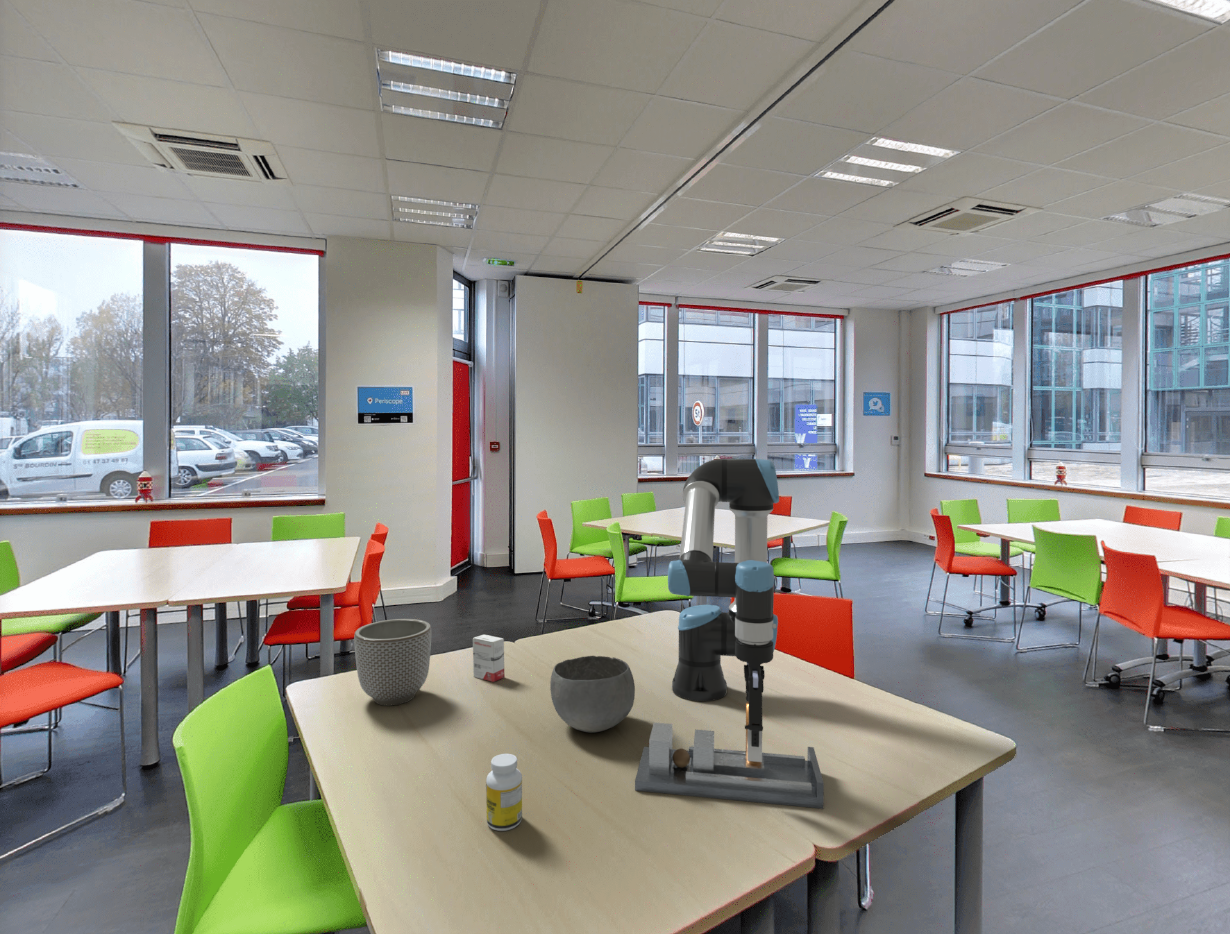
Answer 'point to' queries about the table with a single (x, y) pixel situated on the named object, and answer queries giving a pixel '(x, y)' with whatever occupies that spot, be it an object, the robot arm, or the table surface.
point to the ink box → (488, 657)
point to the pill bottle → (504, 793)
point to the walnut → (681, 758)
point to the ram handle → (723, 757)
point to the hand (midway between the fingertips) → (753, 746)
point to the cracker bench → (781, 784)
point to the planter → (393, 659)
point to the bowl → (592, 692)
